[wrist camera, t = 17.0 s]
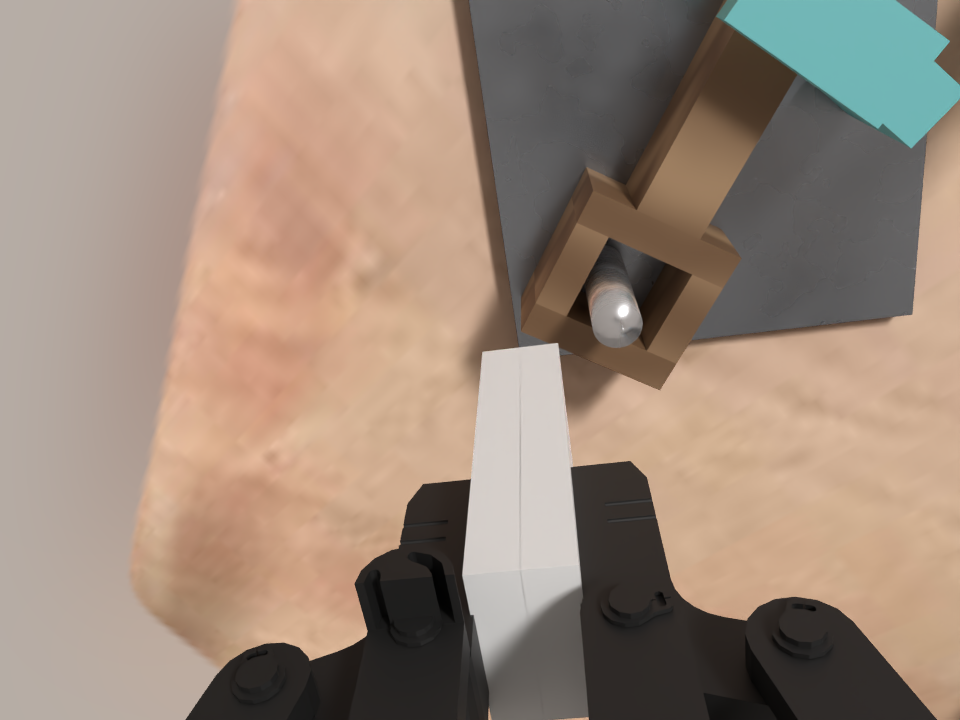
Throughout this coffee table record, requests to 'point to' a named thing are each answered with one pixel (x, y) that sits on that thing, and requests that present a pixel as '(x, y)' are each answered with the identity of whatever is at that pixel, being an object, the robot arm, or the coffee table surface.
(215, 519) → the coffee table surface
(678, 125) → the link
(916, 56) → the keeper
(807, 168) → the base
